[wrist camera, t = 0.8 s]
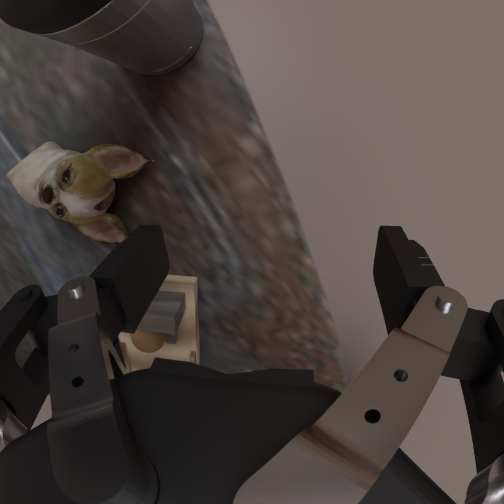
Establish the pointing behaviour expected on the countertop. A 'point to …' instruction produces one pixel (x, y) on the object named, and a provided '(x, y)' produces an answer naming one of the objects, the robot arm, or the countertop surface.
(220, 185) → the countertop surface
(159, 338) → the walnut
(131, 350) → the base
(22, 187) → the ceramic sculpture
